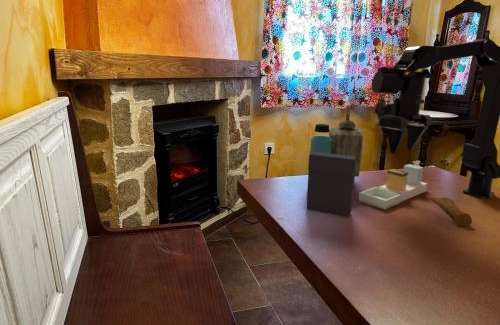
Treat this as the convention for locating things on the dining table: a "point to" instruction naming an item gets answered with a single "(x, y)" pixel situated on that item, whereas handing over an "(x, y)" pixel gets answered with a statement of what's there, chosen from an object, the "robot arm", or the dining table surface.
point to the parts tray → (379, 198)
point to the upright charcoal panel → (331, 183)
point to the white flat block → (408, 190)
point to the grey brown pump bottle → (347, 140)
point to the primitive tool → (453, 211)
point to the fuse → (413, 174)
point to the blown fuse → (396, 179)
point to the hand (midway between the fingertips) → (401, 151)
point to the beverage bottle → (321, 140)
